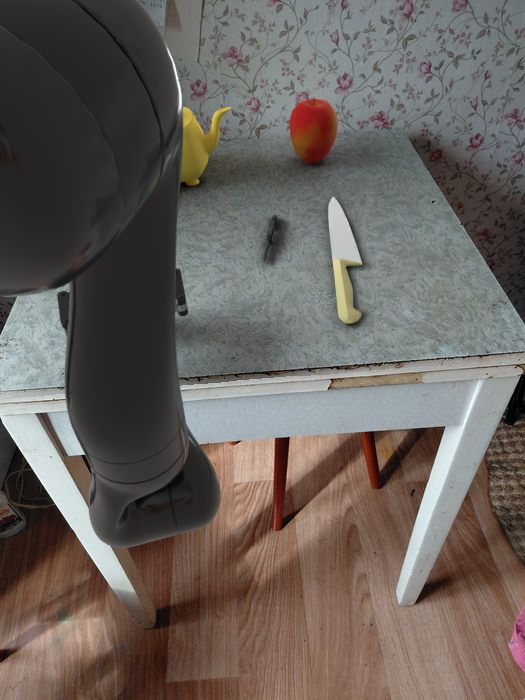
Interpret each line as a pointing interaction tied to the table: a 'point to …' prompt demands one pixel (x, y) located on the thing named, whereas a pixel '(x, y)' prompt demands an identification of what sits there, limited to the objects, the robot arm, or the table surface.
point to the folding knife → (270, 234)
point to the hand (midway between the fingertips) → (118, 265)
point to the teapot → (198, 145)
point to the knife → (343, 261)
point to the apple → (313, 129)
